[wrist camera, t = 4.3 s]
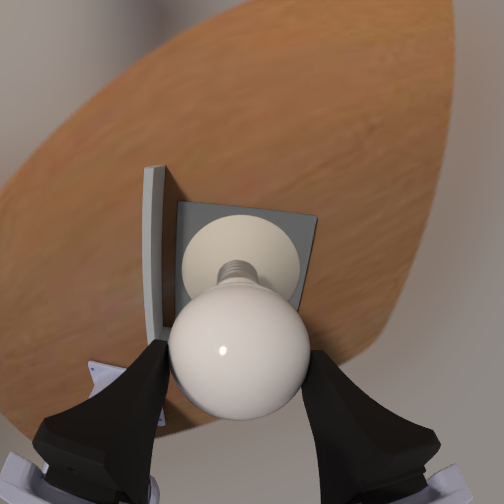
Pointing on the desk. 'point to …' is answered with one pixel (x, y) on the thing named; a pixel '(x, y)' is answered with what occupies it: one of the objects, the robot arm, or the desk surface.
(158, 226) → the acrylic fence
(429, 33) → the desk surface
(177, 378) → the lightbulb
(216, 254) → the mat
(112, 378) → the robot arm
